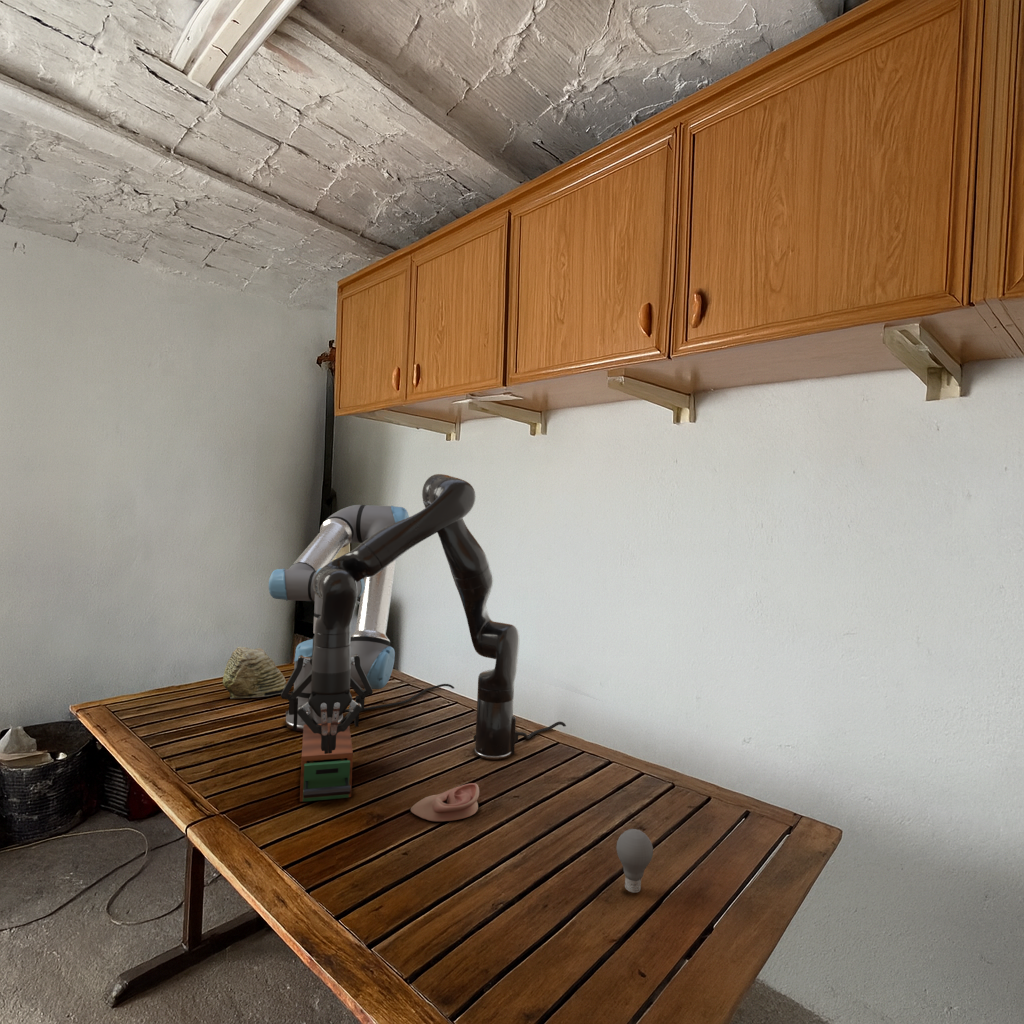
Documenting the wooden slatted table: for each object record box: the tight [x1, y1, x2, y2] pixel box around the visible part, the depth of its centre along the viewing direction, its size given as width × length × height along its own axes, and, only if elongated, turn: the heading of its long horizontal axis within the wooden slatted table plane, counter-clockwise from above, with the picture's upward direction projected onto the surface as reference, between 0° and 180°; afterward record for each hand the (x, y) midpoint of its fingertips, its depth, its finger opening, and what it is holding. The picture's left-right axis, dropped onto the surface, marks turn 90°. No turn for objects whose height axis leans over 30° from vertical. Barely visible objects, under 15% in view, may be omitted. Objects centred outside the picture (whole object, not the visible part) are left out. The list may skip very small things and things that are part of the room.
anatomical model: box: [410, 782, 480, 822], centre depth 131 cm, size 13×4×12 cm
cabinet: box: [299, 723, 354, 803], centre depth 142 cm, size 19×10×10 cm, turn 17°
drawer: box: [303, 758, 350, 803], centre depth 136 cm, size 23×9×7 cm, turn 17°
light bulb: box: [615, 828, 654, 894], centre depth 106 cm, size 6×6×10 cm
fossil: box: [222, 646, 287, 699], centre depth 198 cm, size 9×18×15 cm, turn 132°
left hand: (326, 726), depth 146 cm, fingers open, 13 cm apart
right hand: (328, 752), depth 128 cm, fingers closed
